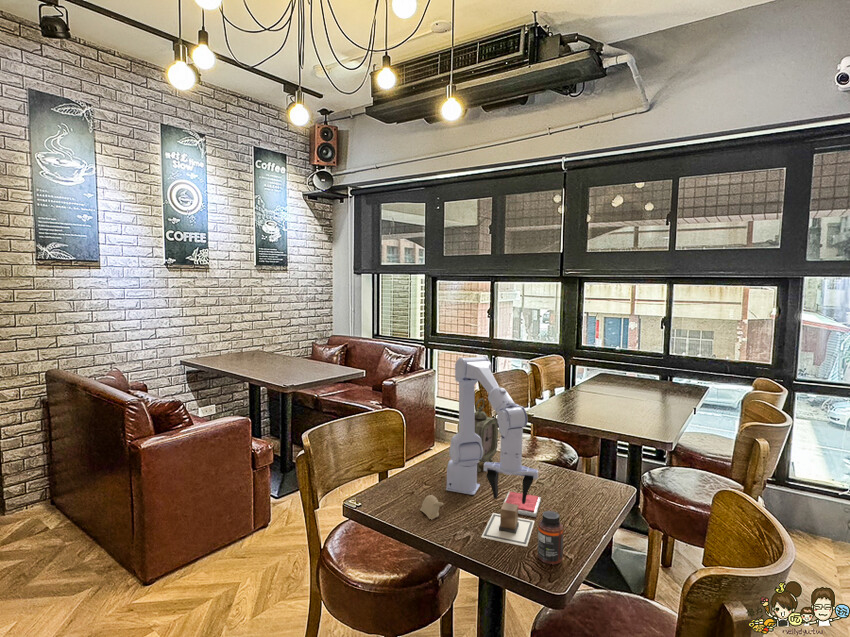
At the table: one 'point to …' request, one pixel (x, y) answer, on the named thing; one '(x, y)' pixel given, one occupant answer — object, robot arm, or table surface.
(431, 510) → the decorative ornament
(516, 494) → the ink pad
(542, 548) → the supplement bottle
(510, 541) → the paper card
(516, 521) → the stamp
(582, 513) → the table surface
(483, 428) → the tabletop clock
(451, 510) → the table surface
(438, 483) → the table surface
